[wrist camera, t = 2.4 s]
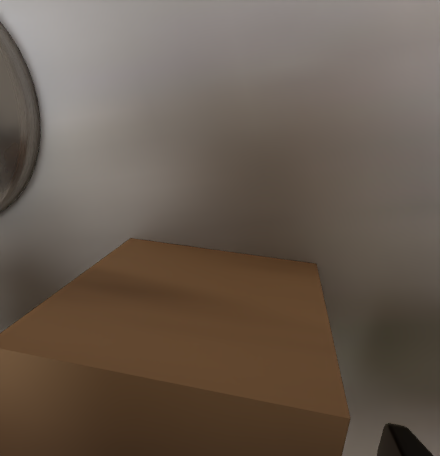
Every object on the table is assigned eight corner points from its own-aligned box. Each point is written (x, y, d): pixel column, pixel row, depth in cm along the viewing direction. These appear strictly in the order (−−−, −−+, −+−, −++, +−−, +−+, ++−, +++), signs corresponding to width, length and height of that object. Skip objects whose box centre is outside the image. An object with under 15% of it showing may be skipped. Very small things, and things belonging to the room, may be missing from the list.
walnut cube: (289, 417, 11) (292, 661, 6) (131, 384, 12) (17, 576, 7) (316, 262, 10) (350, 418, 5) (131, 237, 11) (-16, 344, 5)
